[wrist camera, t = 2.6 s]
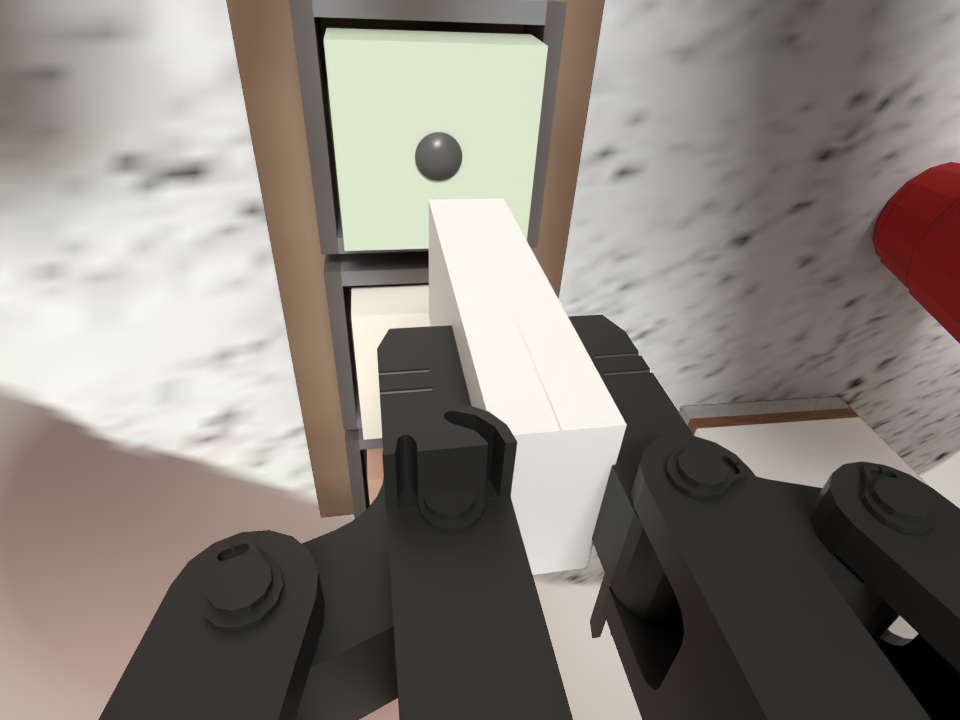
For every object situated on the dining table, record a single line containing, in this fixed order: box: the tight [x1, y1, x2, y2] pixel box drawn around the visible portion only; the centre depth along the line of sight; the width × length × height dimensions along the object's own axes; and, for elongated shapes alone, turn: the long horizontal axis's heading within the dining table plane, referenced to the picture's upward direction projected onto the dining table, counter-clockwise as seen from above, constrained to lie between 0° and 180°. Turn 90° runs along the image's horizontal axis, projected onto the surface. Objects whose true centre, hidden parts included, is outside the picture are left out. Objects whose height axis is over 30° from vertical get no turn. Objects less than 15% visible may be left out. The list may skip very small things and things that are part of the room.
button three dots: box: [351, 284, 431, 440], centre depth 23 cm, size 6×6×2 cm
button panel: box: [226, 0, 605, 519], centre depth 26 cm, size 12×26×6 cm, turn 177°
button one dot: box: [324, 28, 548, 251], centre depth 18 cm, size 6×6×2 cm
